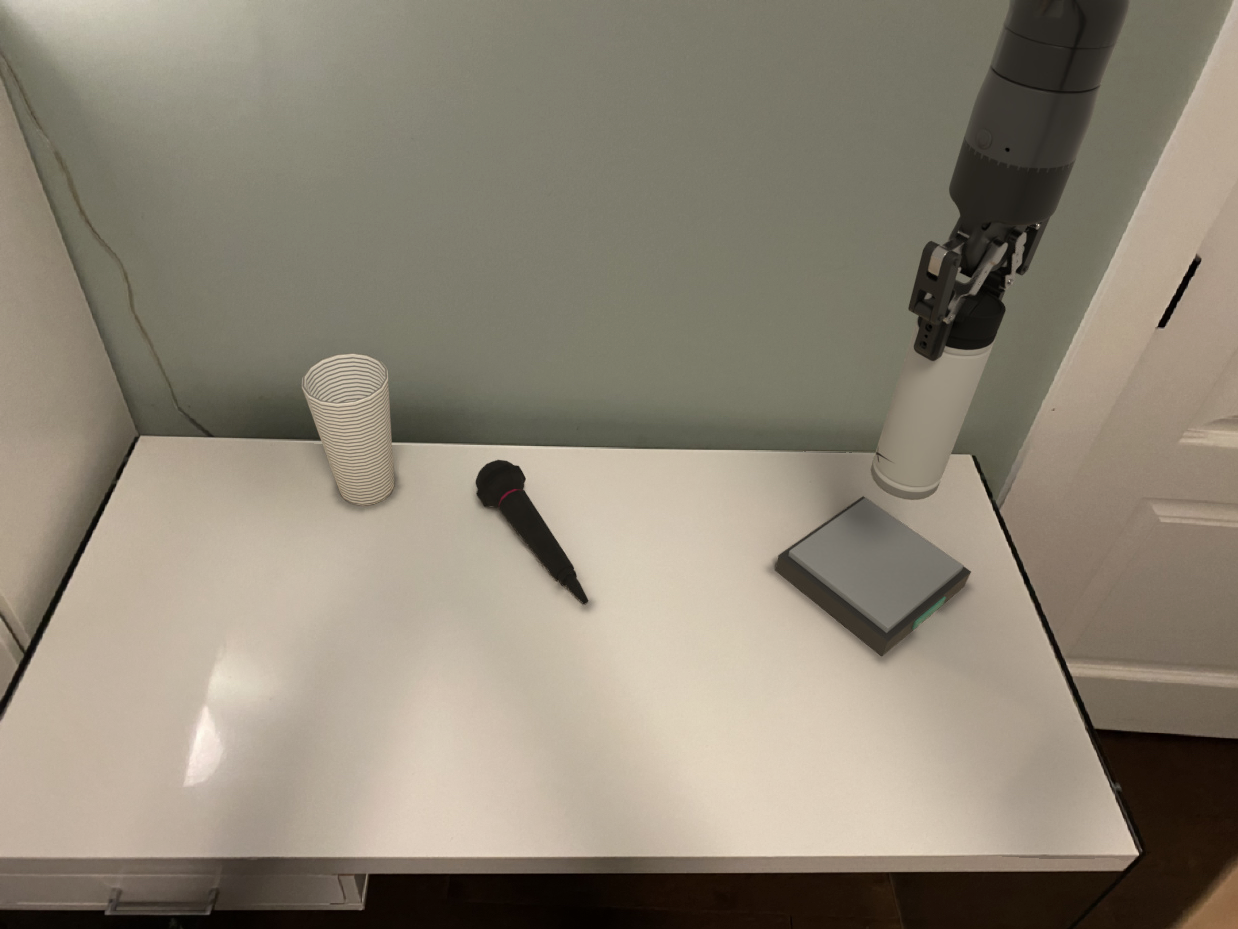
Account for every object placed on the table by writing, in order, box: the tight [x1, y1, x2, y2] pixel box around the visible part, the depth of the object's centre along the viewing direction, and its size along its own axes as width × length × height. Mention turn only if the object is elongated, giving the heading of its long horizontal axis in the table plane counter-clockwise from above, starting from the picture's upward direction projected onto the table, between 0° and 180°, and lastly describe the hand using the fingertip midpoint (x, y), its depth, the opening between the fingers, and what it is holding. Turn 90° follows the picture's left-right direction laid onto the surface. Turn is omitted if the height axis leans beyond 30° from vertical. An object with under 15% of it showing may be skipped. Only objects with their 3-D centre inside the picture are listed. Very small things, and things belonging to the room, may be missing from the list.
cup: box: [301, 352, 395, 506], centre depth 97 cm, size 8×8×16 cm
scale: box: [774, 495, 972, 657], centre depth 94 cm, size 14×14×3 cm
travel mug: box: [870, 289, 1007, 501], centre depth 78 cm, size 6×7×20 cm
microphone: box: [475, 459, 589, 605], centre depth 96 cm, size 6×6×20 cm
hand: (952, 338), depth 74 cm, fingers closed on travel mug, 6 cm apart
